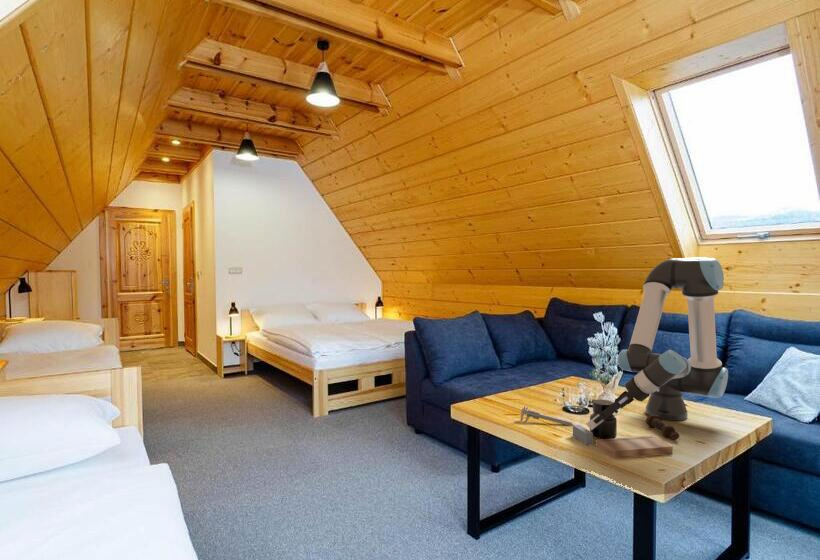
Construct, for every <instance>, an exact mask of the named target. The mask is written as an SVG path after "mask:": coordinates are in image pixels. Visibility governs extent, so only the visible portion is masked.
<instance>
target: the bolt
mask: <svg viewBox="0 0 820 560" xmlns="http://www.w3.org/2000/svg"><path fill="white" fill-rule="evenodd" d="M645 424H646V425H647V427H648V428H650V429H656V430H658V431H659V432H660V434H661V435H662V436H663V438H667V439H670V440H672V441H676V440H679V438H680V434H679V432H678V431H676V429H675V427H674V426H673V425H672V424H666V423H664V422H663V420H662V419H660V417H659V416H658V415H655V414H651V415H647V417H646V420H645Z"/></svg>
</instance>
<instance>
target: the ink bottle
mask: <svg viewBox="0 0 820 560" xmlns="http://www.w3.org/2000/svg"><path fill="white" fill-rule="evenodd" d="M613 403H614V402H613V401H612V400H608V399H594V400H593V401H592V413H591V414H590V415H589V421H590V420H591V419H593V418H594V417H595V416H596V415H598V414H599V413H598V411H599V412H602V411H604V410H605V409H606V408H607V407H609V406H610V405H611V404H613ZM617 425H618V423H617V417H616V416H614V413H613V414H611V415H610V416H609V417H607V418H606V420H604V421H603V422H602V423H600V424H599V425H598V426H596V427H595V428H594V429H592V430H591V429H590V428H589V431H590V432H592V433H593V438H594V439H598V440H601V439H614V438H617V434H618V432H617V431H618V430H617V428H618V427H617Z"/></svg>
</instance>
